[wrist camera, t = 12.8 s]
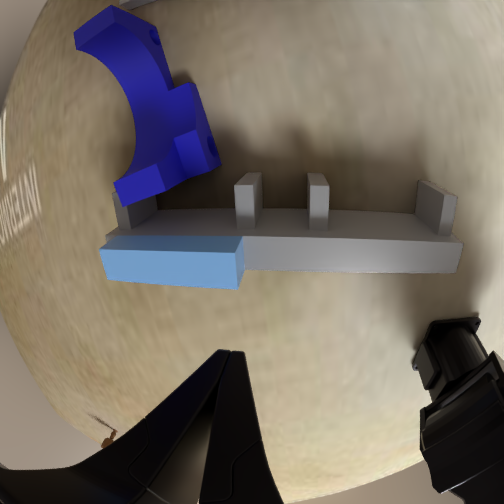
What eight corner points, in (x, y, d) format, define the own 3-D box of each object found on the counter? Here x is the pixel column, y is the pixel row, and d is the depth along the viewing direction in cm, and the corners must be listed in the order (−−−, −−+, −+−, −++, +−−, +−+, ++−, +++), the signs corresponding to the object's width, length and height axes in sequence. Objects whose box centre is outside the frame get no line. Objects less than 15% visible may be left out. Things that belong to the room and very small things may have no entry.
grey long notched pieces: (422, -11, 9) (463, -46, 3) (426, 240, 18) (470, 290, 12) (129, 0, 13) (74, -25, 6) (145, 234, 21) (95, 278, 15)
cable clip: (222, 163, 18) (191, 182, 13) (166, 182, 19) (122, 207, 14) (175, 18, 14) (133, -9, 8) (124, 46, 15) (73, 32, 10)
